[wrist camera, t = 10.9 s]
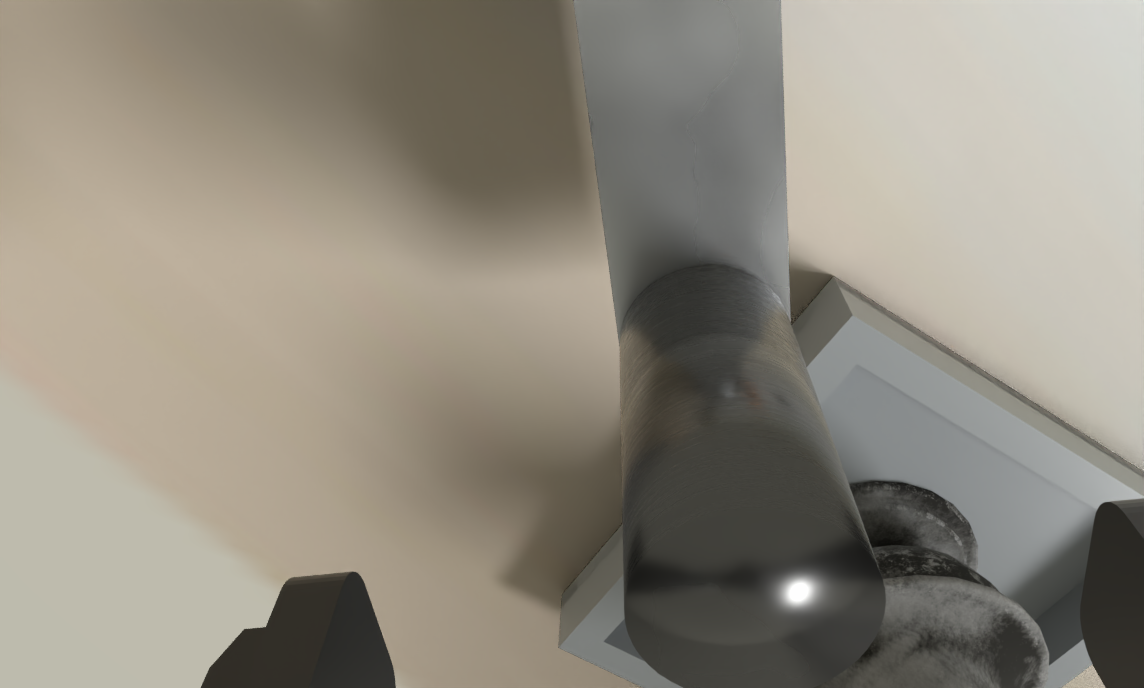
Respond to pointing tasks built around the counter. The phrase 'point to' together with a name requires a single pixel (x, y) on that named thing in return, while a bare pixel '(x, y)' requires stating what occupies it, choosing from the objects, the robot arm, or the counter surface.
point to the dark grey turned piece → (938, 602)
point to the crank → (716, 358)
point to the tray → (922, 476)
